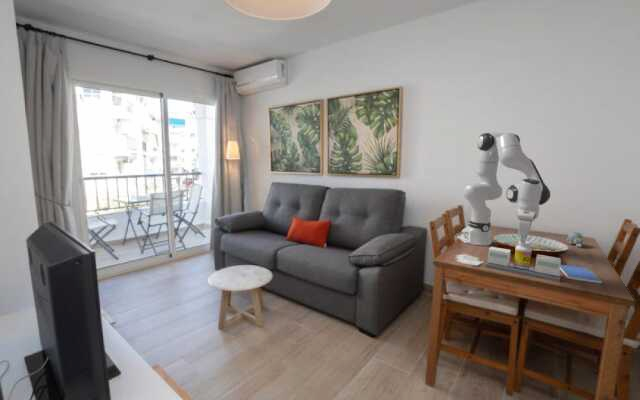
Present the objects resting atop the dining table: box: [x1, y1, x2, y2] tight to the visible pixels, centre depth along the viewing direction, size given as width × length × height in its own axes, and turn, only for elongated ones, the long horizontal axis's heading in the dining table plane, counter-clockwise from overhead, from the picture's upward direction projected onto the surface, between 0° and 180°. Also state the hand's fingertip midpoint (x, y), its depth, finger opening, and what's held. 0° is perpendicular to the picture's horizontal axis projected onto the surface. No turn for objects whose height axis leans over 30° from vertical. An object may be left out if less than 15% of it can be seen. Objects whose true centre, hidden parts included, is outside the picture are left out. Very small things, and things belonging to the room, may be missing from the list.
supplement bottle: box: [513, 240, 532, 269], centre depth 149 cm, size 7×7×13 cm
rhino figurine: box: [566, 231, 584, 248], centre depth 193 cm, size 7×12×8 cm, turn 159°
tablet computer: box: [560, 264, 603, 284], centre depth 147 cm, size 19×13×1 cm, turn 155°
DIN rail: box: [486, 260, 561, 278], centre depth 150 cm, size 30×4×1 cm, turn 52°
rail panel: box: [485, 262, 561, 283], centre depth 150 cm, size 30×10×2 cm, turn 52°
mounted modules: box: [487, 246, 562, 276], centre depth 149 cm, size 29×6×7 cm, turn 52°
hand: (523, 240), depth 148 cm, fingers open, 8 cm apart
